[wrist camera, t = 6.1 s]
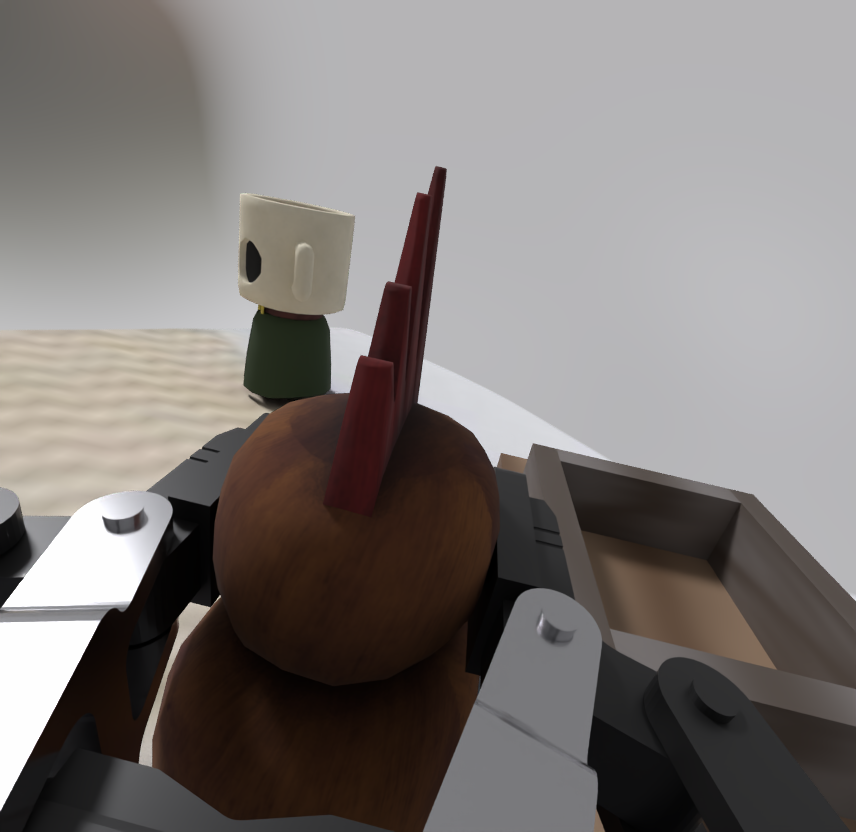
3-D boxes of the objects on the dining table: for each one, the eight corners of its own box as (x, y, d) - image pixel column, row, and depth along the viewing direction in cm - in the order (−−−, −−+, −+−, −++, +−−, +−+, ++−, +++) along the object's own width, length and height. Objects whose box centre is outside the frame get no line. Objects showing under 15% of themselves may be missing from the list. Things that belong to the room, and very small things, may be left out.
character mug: (238, 361, 37) (241, 189, 32) (325, 367, 40) (342, 209, 34) (233, 423, 28) (236, 196, 23) (346, 425, 31) (373, 223, 25)
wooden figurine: (317, 648, 16) (383, 165, 9) (466, 752, 14) (676, 219, 7) (112, 869, 10) (-66, 18, 4) (313, 1105, 8) (672, 76, 2)
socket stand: (508, 1045, 9) (596, 944, 7) (495, 473, 29) (516, 402, 27) (1134, 1221, 8) (1432, 1170, 6) (680, 516, 28) (716, 449, 26)
